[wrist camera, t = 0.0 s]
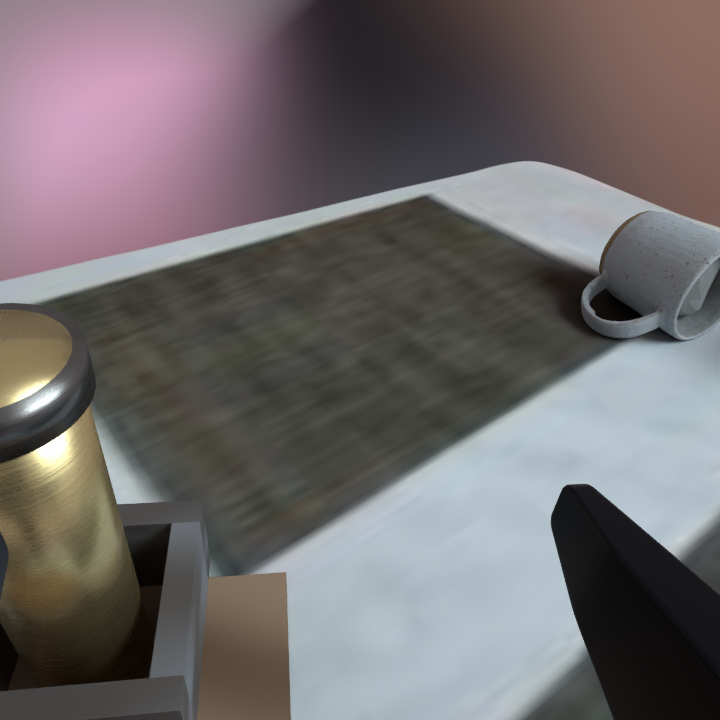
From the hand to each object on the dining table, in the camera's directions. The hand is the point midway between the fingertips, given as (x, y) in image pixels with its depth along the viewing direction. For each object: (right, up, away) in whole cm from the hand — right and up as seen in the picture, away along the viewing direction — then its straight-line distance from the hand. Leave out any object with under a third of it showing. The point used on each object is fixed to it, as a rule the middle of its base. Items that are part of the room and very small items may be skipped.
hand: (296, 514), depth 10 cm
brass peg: (-9, -9, +13) cm, 18 cm away
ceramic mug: (+23, +6, +37) cm, 44 cm away
